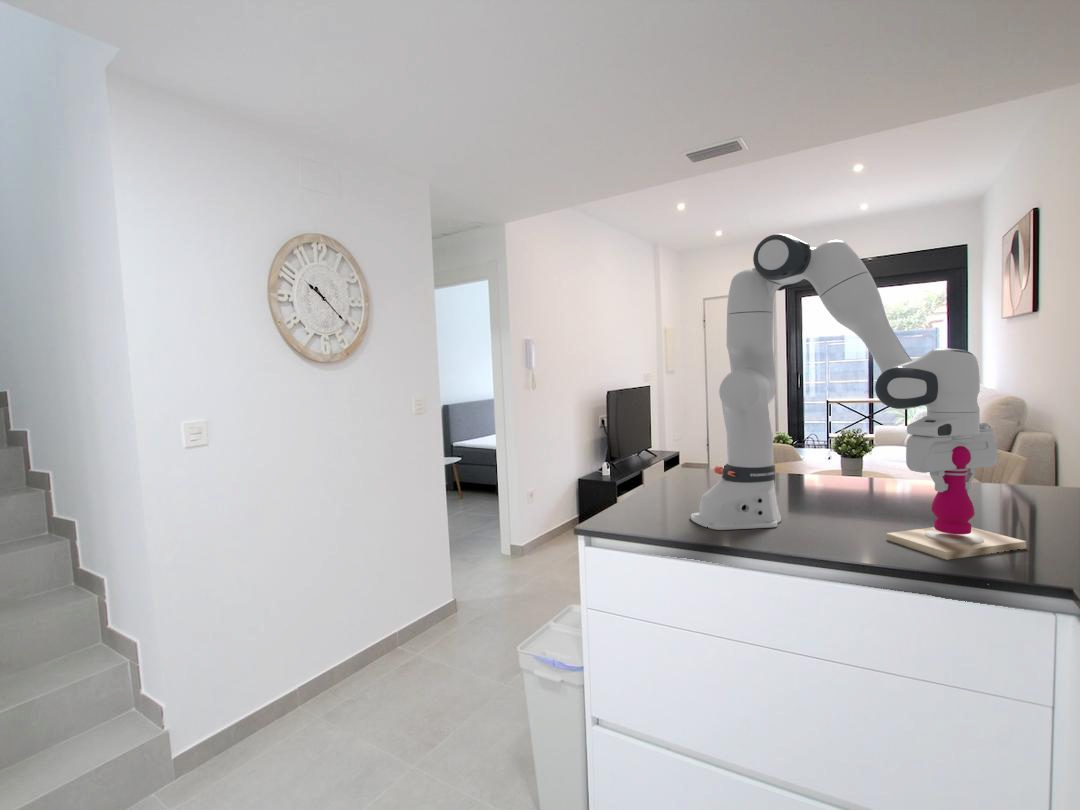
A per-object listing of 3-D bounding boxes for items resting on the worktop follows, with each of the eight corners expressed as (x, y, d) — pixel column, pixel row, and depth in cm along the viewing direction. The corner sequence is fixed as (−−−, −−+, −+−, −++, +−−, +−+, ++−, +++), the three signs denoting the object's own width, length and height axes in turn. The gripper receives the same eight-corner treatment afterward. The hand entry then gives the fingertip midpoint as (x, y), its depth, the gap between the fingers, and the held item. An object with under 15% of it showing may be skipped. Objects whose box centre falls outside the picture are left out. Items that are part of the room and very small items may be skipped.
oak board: (946, 559, 107) (946, 551, 107) (886, 539, 121) (886, 532, 121) (1026, 548, 111) (1026, 540, 111) (959, 530, 125) (959, 523, 125)
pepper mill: (981, 535, 112) (982, 438, 111) (941, 534, 113) (942, 438, 112) (962, 526, 119) (963, 434, 118) (925, 525, 120) (925, 434, 119)
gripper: (977, 421, 120) (976, 483, 121) (900, 426, 116) (900, 491, 116) (1007, 423, 114) (1007, 489, 115) (927, 429, 110) (927, 497, 110)
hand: (952, 490), depth 116 cm, fingers closed on pepper mill, 4 cm apart
